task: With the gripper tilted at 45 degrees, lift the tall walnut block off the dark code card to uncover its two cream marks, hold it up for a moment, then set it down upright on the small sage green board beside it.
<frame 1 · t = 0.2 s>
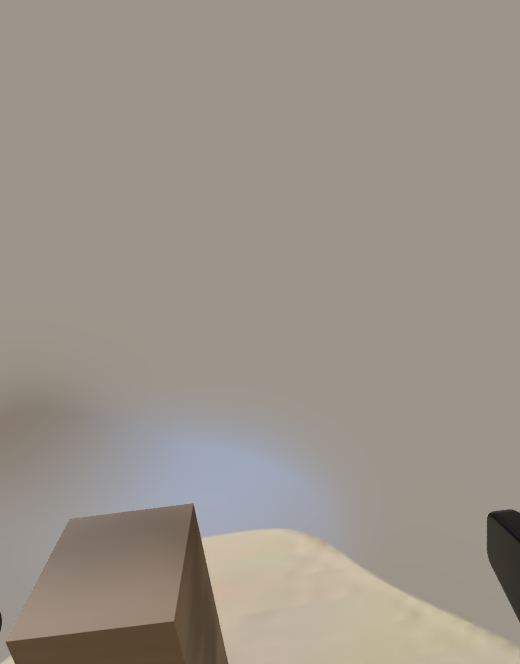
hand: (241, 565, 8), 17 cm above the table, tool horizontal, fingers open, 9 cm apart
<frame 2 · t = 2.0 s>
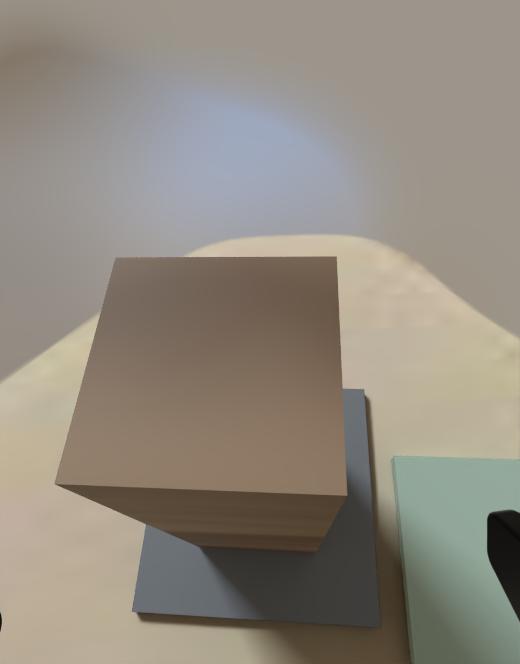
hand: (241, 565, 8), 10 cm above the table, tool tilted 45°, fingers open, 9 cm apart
code card: (260, 491, 19), on the table
sage board: (494, 555, 17), on the table
walnut block: (259, 489, 18), resting on code card
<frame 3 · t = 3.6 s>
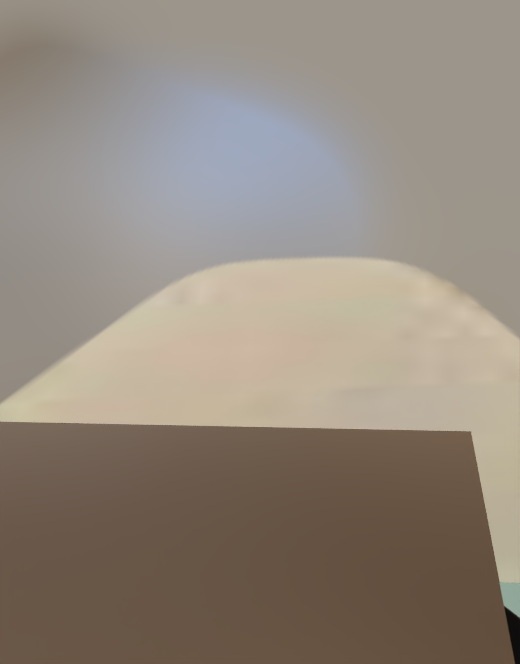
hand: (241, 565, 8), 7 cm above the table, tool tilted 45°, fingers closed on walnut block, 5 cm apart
walnut block: (269, 627, 13), resting on code card, touching gripper
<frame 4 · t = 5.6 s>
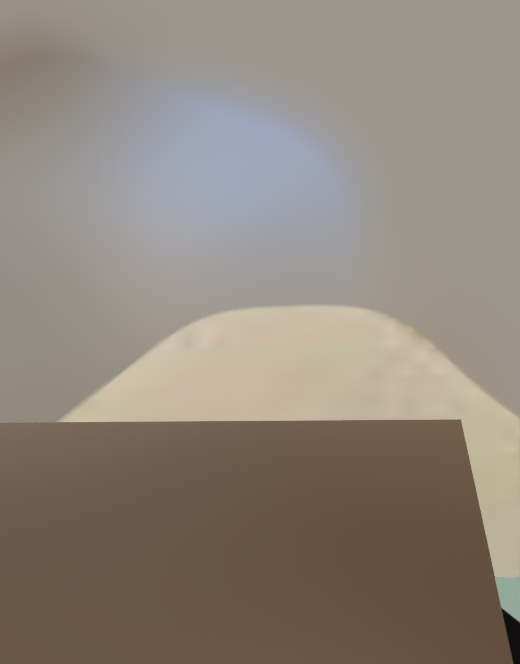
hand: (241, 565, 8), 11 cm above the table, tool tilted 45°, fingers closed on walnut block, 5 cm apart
walnut block: (265, 625, 13), point 5 cm above the table, touching gripper
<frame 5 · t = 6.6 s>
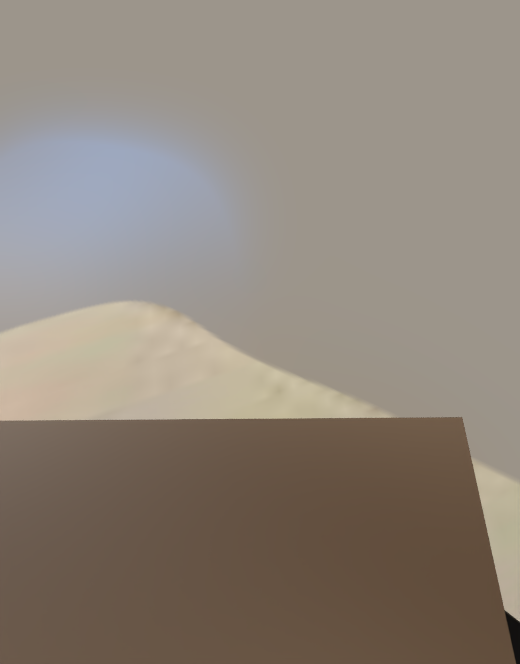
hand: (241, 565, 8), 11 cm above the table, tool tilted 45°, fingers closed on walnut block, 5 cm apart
walnut block: (266, 625, 13), point 4 cm above the table, touching gripper
when the fingers open (9 cm above the table, at t = 7.4 s): walnut block drops 1 cm, resting on sage board.
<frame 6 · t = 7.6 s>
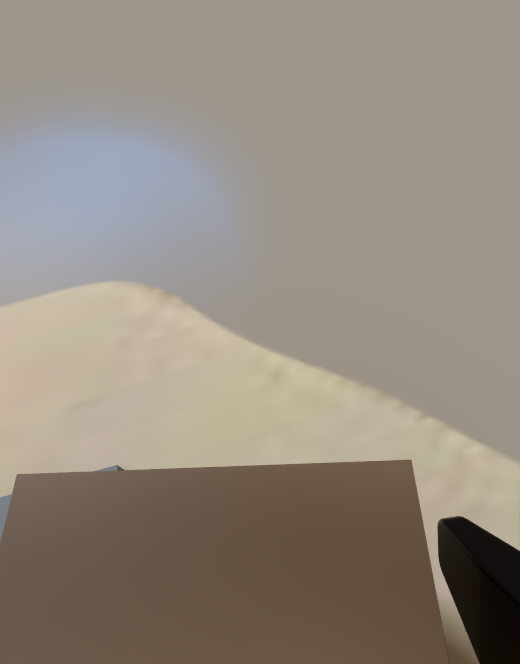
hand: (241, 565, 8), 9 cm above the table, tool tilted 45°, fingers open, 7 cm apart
code card: (4, 632, 15), on the table
walnut block: (268, 622, 14), point 1 cm above the table, touching sage board
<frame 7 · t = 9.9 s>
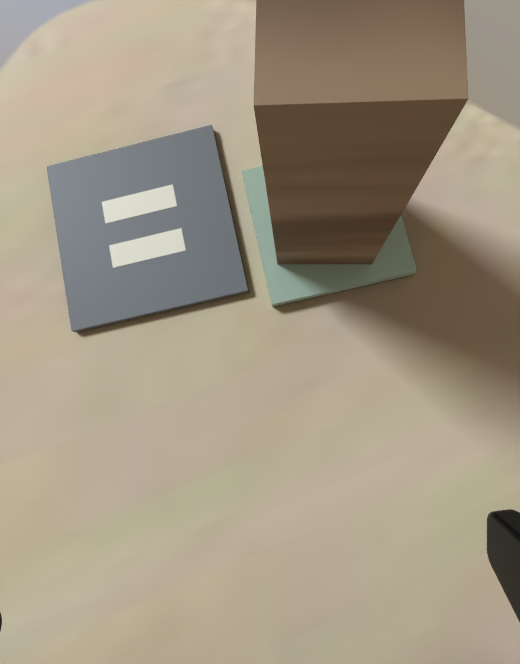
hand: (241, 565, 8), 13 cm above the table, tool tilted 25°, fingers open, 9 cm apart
code card: (145, 228, 23), on the table
sage board: (325, 224, 22), on the table
walnut block: (324, 219, 22), point 1 cm above the table, touching sage board
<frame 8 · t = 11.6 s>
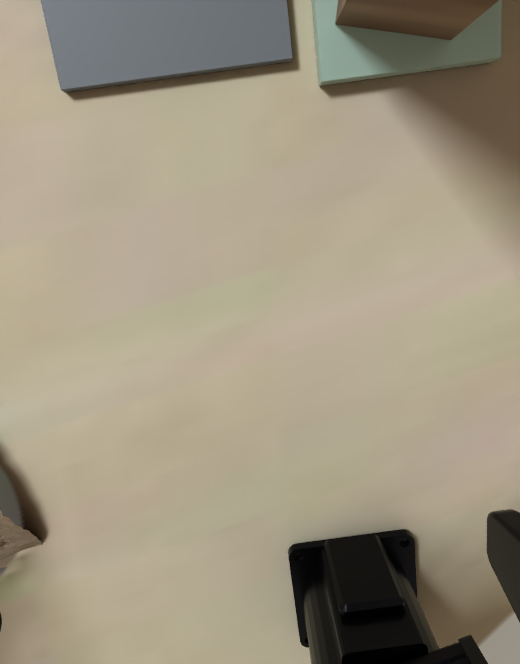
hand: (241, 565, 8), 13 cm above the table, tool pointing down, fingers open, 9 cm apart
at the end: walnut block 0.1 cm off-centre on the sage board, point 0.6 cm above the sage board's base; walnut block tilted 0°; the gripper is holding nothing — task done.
